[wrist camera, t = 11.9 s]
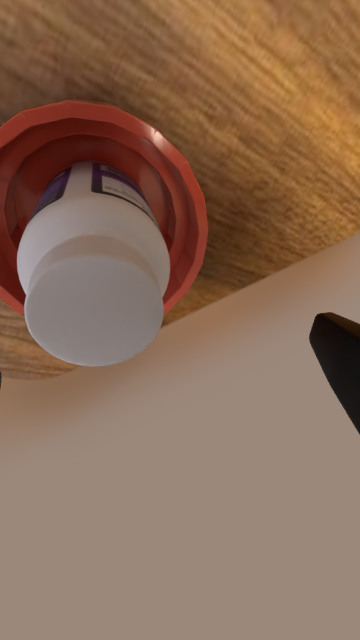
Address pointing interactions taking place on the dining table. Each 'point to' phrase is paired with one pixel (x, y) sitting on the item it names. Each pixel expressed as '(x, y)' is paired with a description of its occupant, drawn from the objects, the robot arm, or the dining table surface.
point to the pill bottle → (93, 267)
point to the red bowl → (106, 146)
